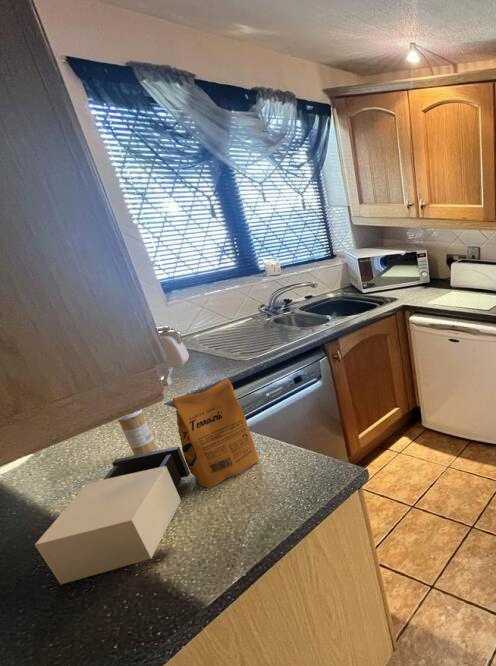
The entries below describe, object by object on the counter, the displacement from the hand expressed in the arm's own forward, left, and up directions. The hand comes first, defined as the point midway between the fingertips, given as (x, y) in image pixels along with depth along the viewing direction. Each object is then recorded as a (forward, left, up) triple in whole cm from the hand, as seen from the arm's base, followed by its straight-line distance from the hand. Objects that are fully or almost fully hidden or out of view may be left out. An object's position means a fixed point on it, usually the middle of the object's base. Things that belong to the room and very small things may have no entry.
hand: (140, 389), depth 86 cm
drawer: (0, -11, -20) cm, 23 cm away
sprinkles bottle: (-8, +8, -22) cm, 24 cm away
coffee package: (+13, -7, -22) cm, 26 cm away
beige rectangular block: (0, -22, -21) cm, 31 cm away
